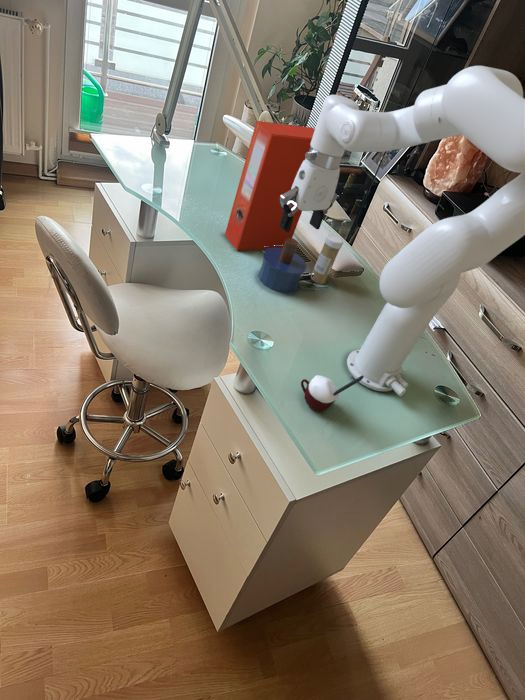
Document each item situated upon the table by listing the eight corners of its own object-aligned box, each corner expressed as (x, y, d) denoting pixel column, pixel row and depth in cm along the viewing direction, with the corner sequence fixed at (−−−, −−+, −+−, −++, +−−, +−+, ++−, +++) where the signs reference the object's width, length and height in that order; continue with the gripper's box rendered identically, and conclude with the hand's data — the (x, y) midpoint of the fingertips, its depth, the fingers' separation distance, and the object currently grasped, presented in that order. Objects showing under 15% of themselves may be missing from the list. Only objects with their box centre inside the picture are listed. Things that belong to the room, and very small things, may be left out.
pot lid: (313, 274, 127) (322, 252, 123) (279, 279, 121) (288, 256, 117) (287, 249, 133) (295, 227, 129) (253, 253, 126) (260, 230, 122)
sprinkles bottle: (328, 284, 137) (347, 242, 129) (315, 286, 135) (334, 243, 126) (318, 274, 140) (336, 232, 131) (306, 276, 137) (324, 233, 129)
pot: (303, 291, 131) (312, 271, 127) (273, 297, 125) (280, 276, 121) (280, 268, 136) (288, 248, 132) (250, 273, 130) (257, 252, 126)
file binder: (288, 249, 145) (328, 140, 125) (237, 251, 136) (272, 134, 116) (274, 234, 150) (311, 126, 130) (224, 235, 141) (255, 119, 121)
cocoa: (292, 391, 101) (312, 349, 94) (315, 385, 105) (336, 343, 97) (319, 427, 96) (343, 384, 89) (342, 418, 100) (367, 377, 92)
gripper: (305, 165, 102) (281, 239, 113) (361, 166, 112) (334, 233, 123) (283, 149, 106) (262, 222, 117) (339, 151, 116) (315, 218, 127)
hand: (299, 227), depth 120 cm, fingers open, 9 cm apart
